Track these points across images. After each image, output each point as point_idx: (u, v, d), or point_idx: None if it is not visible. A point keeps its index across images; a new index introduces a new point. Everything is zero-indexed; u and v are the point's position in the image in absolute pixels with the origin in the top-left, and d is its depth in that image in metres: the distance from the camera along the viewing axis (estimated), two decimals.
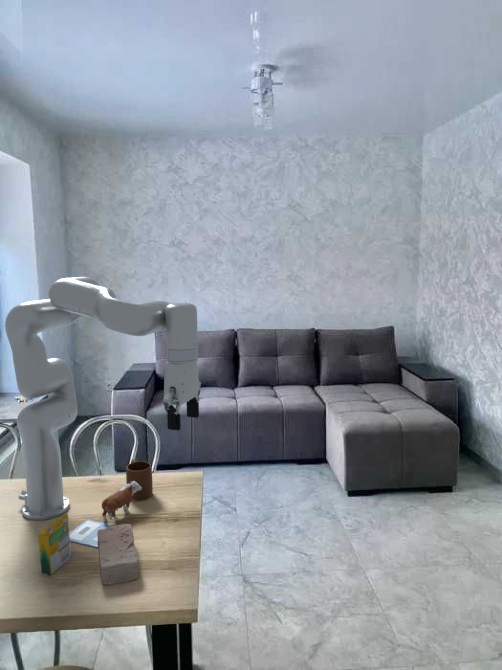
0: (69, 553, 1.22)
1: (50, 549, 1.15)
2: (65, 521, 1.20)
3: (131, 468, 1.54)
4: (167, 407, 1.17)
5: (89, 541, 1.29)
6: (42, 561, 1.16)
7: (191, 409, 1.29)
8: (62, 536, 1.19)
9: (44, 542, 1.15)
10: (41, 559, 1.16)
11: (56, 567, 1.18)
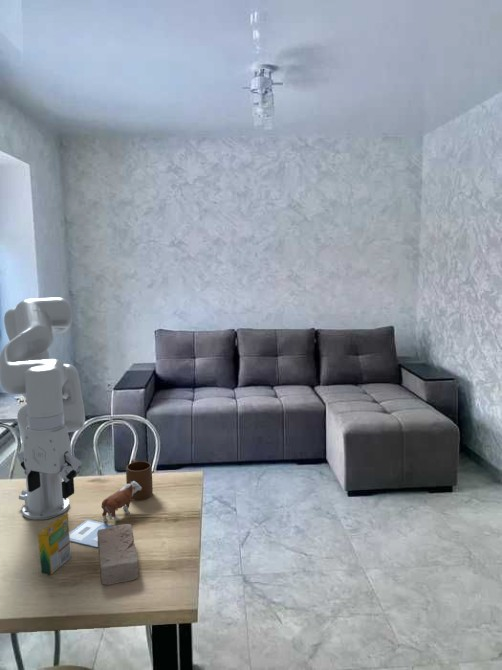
0: (69, 553, 1.22)
1: (50, 549, 1.15)
2: (65, 521, 1.20)
3: (131, 468, 1.54)
4: (77, 471, 1.13)
5: (89, 541, 1.29)
6: (42, 561, 1.16)
7: (34, 481, 1.17)
8: (62, 536, 1.19)
9: (44, 542, 1.15)
10: (41, 559, 1.16)
11: (56, 567, 1.18)
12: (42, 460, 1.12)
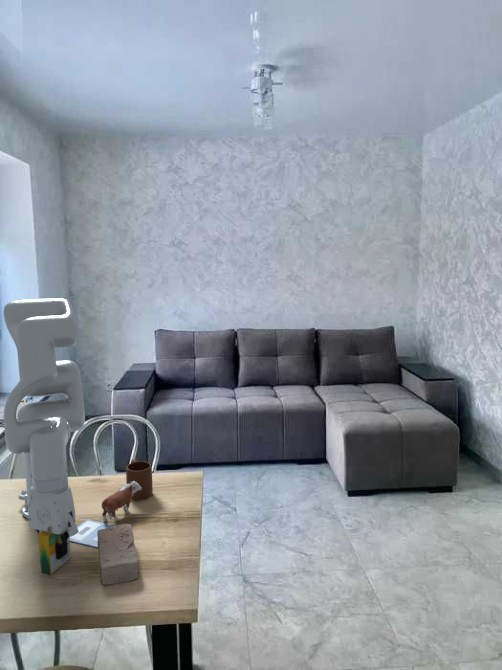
0: (69, 553, 1.22)
1: (50, 548, 1.15)
2: None
3: (131, 468, 1.54)
4: (71, 535, 1.17)
5: (89, 541, 1.29)
6: (42, 561, 1.16)
7: None
8: None
9: (44, 542, 1.15)
10: (41, 559, 1.16)
11: (56, 567, 1.18)
12: (46, 520, 1.15)
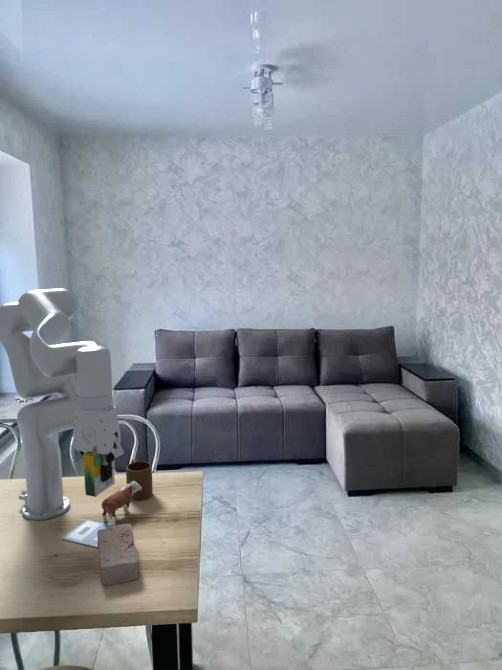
0: (113, 479, 1.19)
1: (94, 470, 1.13)
2: None
3: (131, 468, 1.54)
4: None
5: (89, 541, 1.29)
6: (86, 483, 1.14)
7: None
8: None
9: (89, 462, 1.12)
10: (85, 480, 1.14)
11: (100, 490, 1.15)
12: (92, 440, 1.12)
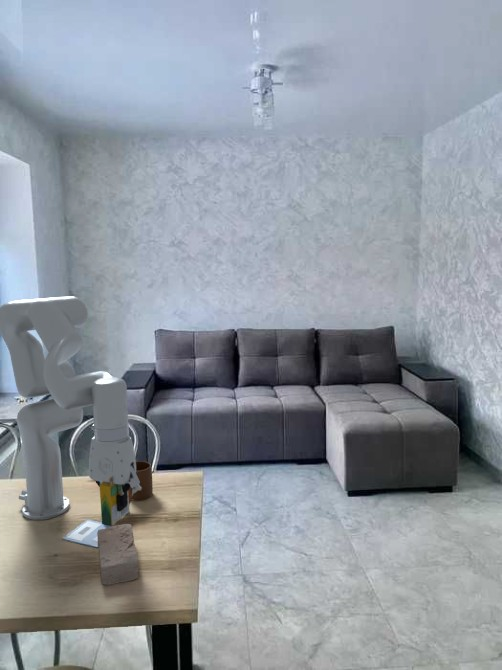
0: (128, 507, 1.21)
1: (111, 500, 1.14)
2: None
3: None
4: None
5: (89, 541, 1.29)
6: (103, 512, 1.15)
7: None
8: None
9: (105, 492, 1.14)
10: (102, 510, 1.15)
11: (116, 519, 1.17)
12: (108, 471, 1.14)
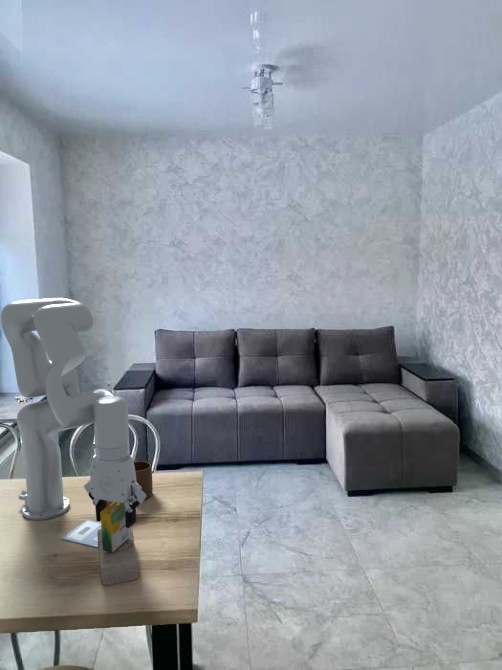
0: (129, 532, 1.22)
1: (112, 527, 1.15)
2: None
3: None
4: (141, 502, 1.16)
5: (89, 541, 1.29)
6: (104, 539, 1.16)
7: None
8: (122, 515, 1.19)
9: (106, 520, 1.15)
10: (103, 537, 1.16)
11: (117, 545, 1.18)
12: (109, 489, 1.15)
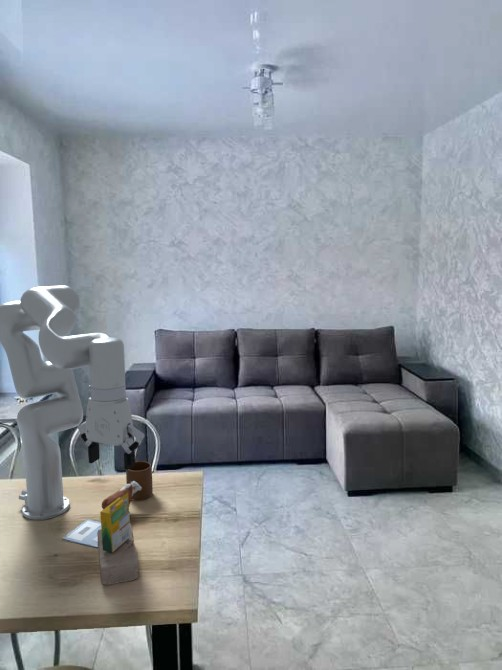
0: (129, 532, 1.22)
1: (112, 527, 1.15)
2: (126, 500, 1.20)
3: (131, 468, 1.54)
4: (140, 442, 1.14)
5: (89, 541, 1.29)
6: (104, 539, 1.16)
7: (95, 453, 1.18)
8: (122, 515, 1.19)
9: (106, 520, 1.15)
10: (103, 537, 1.16)
11: (117, 545, 1.18)
12: (105, 431, 1.13)
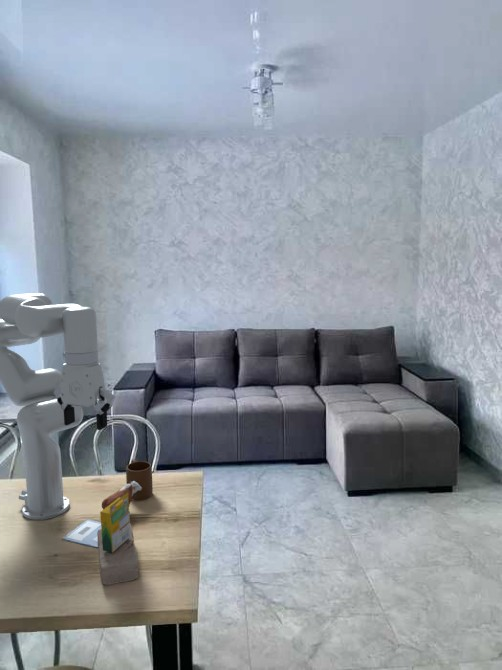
0: (129, 532, 1.22)
1: (112, 527, 1.15)
2: (126, 500, 1.20)
3: (131, 468, 1.54)
4: (111, 404, 1.22)
5: (89, 541, 1.29)
6: (104, 539, 1.16)
7: (70, 416, 1.27)
8: (122, 515, 1.19)
9: (106, 520, 1.15)
10: (103, 537, 1.16)
11: (117, 545, 1.18)
12: (78, 394, 1.21)
